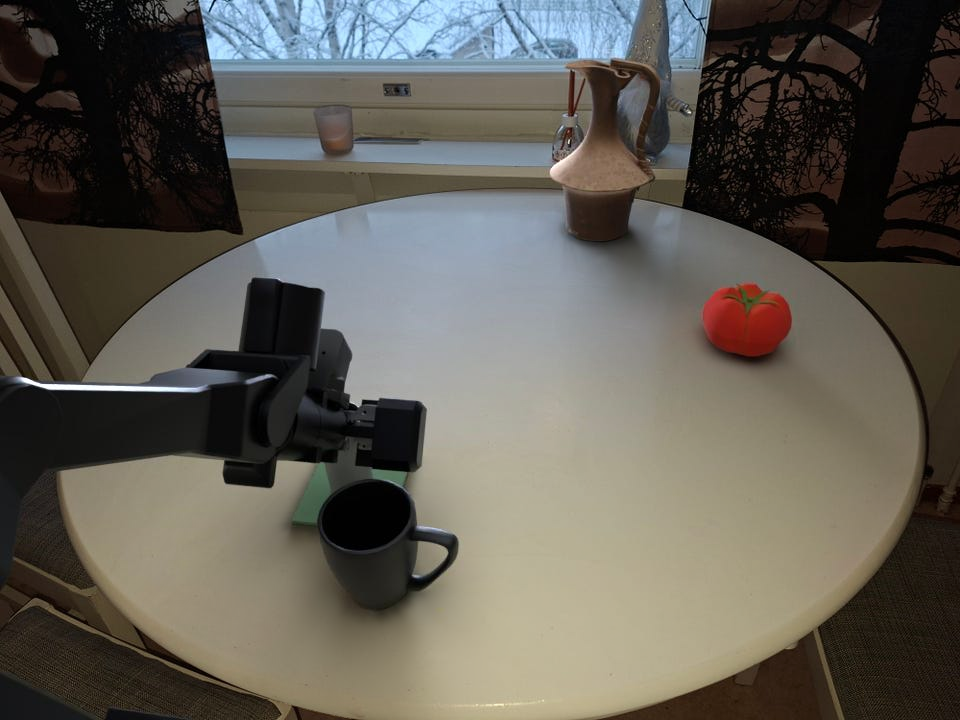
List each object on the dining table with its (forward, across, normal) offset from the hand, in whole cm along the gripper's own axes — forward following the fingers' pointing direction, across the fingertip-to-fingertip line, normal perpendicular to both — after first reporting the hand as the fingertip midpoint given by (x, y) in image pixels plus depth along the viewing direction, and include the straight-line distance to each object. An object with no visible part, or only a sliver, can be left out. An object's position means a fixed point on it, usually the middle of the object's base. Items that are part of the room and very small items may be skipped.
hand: (348, 432), depth 68 cm
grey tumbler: (+4, 0, +6) cm, 7 cm away
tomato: (+27, -44, -16) cm, 54 cm away
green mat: (+4, 0, +6) cm, 7 cm away
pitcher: (+50, -25, -40) cm, 69 cm away
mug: (-4, -8, +14) cm, 16 cm away
